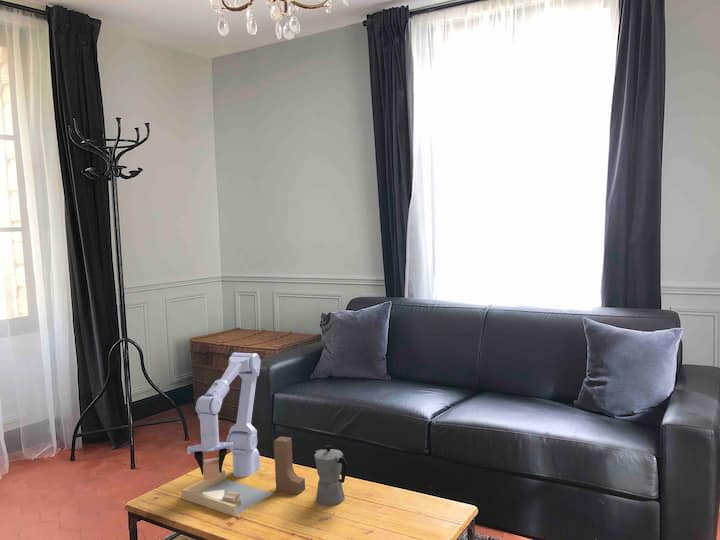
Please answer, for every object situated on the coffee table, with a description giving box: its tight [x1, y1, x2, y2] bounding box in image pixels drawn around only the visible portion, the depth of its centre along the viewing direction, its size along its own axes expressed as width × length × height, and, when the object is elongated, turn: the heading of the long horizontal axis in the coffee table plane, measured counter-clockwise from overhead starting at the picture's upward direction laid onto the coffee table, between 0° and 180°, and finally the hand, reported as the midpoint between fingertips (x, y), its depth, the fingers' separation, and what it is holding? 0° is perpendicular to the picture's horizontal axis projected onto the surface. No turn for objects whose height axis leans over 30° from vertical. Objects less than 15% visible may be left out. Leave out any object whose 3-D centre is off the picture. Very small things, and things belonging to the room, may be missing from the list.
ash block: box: [223, 491, 241, 508], centre depth 187 cm, size 4×4×4 cm
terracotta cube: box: [203, 457, 220, 480], centre depth 195 cm, size 5×5×5 cm
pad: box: [203, 490, 224, 500], centre depth 196 cm, size 7×7×1 cm
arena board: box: [181, 469, 275, 517], centre depth 195 cm, size 18×24×4 cm
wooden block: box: [273, 435, 306, 495], centre depth 198 cm, size 9×4×18 cm, turn 66°
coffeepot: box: [313, 444, 349, 507], centre depth 191 cm, size 15×9×18 cm, turn 43°
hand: (211, 472), depth 195 cm, fingers closed on terracotta cube, 5 cm apart
